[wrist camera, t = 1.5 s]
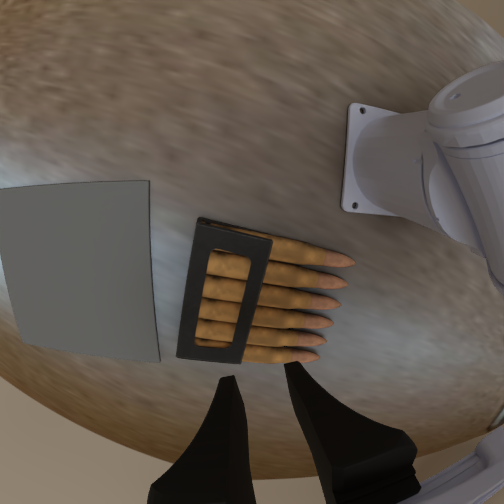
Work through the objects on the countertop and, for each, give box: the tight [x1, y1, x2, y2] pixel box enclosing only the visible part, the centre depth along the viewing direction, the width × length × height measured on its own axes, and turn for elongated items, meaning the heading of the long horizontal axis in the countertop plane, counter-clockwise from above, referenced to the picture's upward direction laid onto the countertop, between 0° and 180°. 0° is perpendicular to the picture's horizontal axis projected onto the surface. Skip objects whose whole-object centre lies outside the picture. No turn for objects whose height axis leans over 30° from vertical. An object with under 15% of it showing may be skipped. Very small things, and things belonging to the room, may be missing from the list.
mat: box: [0, 181, 160, 363], centre depth 21 cm, size 15×15×1 cm
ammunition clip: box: [176, 217, 355, 364], centre depth 22 cm, size 11×2×12 cm
